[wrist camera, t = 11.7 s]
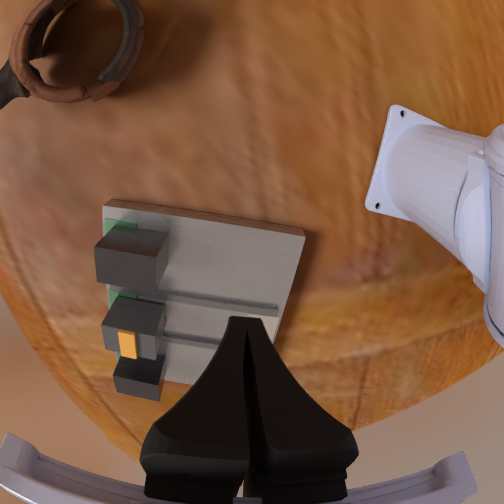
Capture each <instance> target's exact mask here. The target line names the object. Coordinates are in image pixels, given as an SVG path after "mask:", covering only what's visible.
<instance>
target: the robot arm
mask: <svg viewBox="0 0 504 504" xmlns="http://www.w3.org/2000/svg"><path fill="white" fill-rule="evenodd" d="M401 111H403V113H404V116H403V117H401V115H400V112H401ZM377 203H379V207H377V208H375V205H376V204H377ZM365 207H366V208H367V209H368V210H370V211H373V212H377V213H381V214H385V215H389V216H393V217H397V218H400V219H404V220H408V221H412V222H415V223H416V224H417V225H419V226H420V227H421V228H422V229H424V230H425V231H426V232H427V233H428V234H430V235H431V236H432V237H433V238H434V239H436V240H437V241H438V242H439V243H440V244H441V245H443V246H444V247H445V248H446V249H447V250H448V251H450V252H451V253H452V254H453V255H454V256H455V257H456V258H457V259H458V260H460V261H461V262H462V263H463V264H464V265H465V266H466V267H467V268H468V269H469V270H470V271H471V272H472V275H473V282H474V283H475V284H476V285H477V286H478V287H479V288H480V289H481V290H482V291H483V293H484V294H485V299H484V306H483V314H484V319H485V323H486V326H487V328H488V330H489V332H490V334H491V335H492V337H493V338H494V339H495V340H496V341H497V343H499V344H500V345H501V346H502V347H503V348H504V124H502V125H499V126H498V127H496V128H495V129H494V130H493V132H492V133H491V134H490V135H489V136H488V137H487V138H485V137H482V136H478V135H474V134H470V133H466V132H462V131H457V130H453V129H449V128H447V127H445V126H443V125H441V124H439V123H437V122H435V121H433V120H431V119H429V118H427V117H425V116H422V115H420V114H418V113H416V112H414V111H411V110H409V109H407V108H405V107H402V106H400V105H395V104H394V105H392V106H391V107H390V109H389V113H388V117H387V122H386V126H385V130H384V134H383V138H382V142H381V146H380V150H379V154H378V158H377V161H376V165H375V169H374V172H373V176H372V179H371V183H370V186H369V190H368V193H367V196H366V200H365ZM358 455H359V451H358V447H357V443H356V441H355V438H354V436H353V434H352V431H351V429H349V428H348V427H346V426H345V425H343V424H342V423H341V422H339V421H338V420H336V419H335V418H333V417H332V416H331V415H330V414H329V413H327V412H326V411H325V410H324V409H323V408H322V407H321V406H320V405H319V404H317V403H316V402H315V401H314V400H313V399H312V398H311V397H310V396H309V395H308V394H307V393H306V391H305V390H304V389H303V388H302V387H301V386H300V385H299V383H298V382H297V381H296V380H295V378H294V377H293V376H292V374H291V373H290V371H289V370H288V369H287V367H286V366H285V364H284V363H283V361H282V359H281V358H280V356H279V354H278V353H277V351H276V349H275V347H274V346H273V344H272V342H271V340H270V338H269V336H268V333H267V331H266V329H265V326H264V324H263V321H262V319H261V318H255V317H242V316H230V317H229V318H228V324H227V327H226V330H225V333H224V335H223V338H222V340H221V342H220V344H219V346H218V348H217V350H216V352H215V354H214V356H213V357H212V359H211V361H210V362H209V364H208V366H207V367H206V369H205V370H204V372H203V373H202V374H201V376H200V377H199V378H198V380H197V381H196V382H195V383H194V385H193V386H192V387H191V388H190V390H189V391H188V392H187V393H186V394H185V395H184V396H183V397H182V398H181V399H180V400H179V401H178V402H177V403H176V404H175V405H174V406H173V407H172V408H171V409H170V410H169V411H168V412H166V413H165V414H164V415H163V416H162V417H160V418H159V419H158V420H157V421H155V422H154V423H153V425H152V426H151V428H150V430H149V432H148V434H147V436H146V438H145V440H144V442H143V445H142V449H141V454H140V459H139V460H140V463H141V465H142V467H143V469H144V471H145V472H146V474H147V475H146V481H145V486H140V485H136V484H131V483H127V482H123V481H119V480H115V479H112V478H108V477H104V476H101V475H98V474H94V473H91V472H88V471H85V470H82V469H79V468H76V467H74V466H71V465H68V464H66V463H63V462H60V461H58V460H55V459H53V458H50V457H48V456H45V455H43V454H41V453H39V451H38V450H37V449H36V448H35V447H34V446H33V445H32V444H30V443H29V442H27V441H25V440H23V439H21V438H19V437H17V436H15V435H13V434H11V433H9V432H8V433H6V435H5V437H4V440H3V442H2V445H1V447H0V486H1V487H3V488H4V489H5V490H7V491H8V492H10V493H12V494H13V495H15V496H16V497H18V498H20V499H21V500H23V501H25V502H27V503H29V504H459V503H461V502H463V501H464V500H466V499H468V498H469V497H471V496H473V495H474V494H476V493H477V492H478V490H479V489H478V487H477V484H476V481H475V479H474V476H473V473H472V471H471V468H470V466H469V464H468V461H467V459H466V456H465V454H464V452H463V451H461V452H458V453H456V454H453V455H451V456H448V457H446V458H444V459H442V460H441V461H439V462H438V463H437V464H435V465H434V467H432V468H429V469H426V470H423V471H420V472H417V473H414V474H411V475H407V476H404V477H401V478H396V479H393V480H389V481H385V482H381V483H377V484H372V485H368V486H363V487H358V488H353V489H346V484H345V479H346V478H347V473H346V468H347V467H349V465H351V464H352V463H353V462H354V461H355V459H356V458H357V456H358ZM243 480H244V483H243V497H236V496H237V493H238V490H239V487H240V486H241V485H242V482H243Z"/></svg>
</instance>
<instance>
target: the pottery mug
mask: <svg viewBox="0 0 504 504" xmlns="http://www.w3.org/2000/svg"><path fill="white" fill-rule="evenodd" d="M77 1H78V0H36V1H35V2H34V3H33V4H32V5H31V6H30V7H29V8H28V10H27V11H26V12H25V14H24V15H23V17H22V18H21V20H20V21H19V23H18V25H17V27H16V30H15V32H14V35H13V37H12V45H11V49H10V54H9V59H8V60H7V62H6V63H5V65H4V66H3V67H2V68H1V70H0V110H1V109H2V108H3V107H4V106H5V105H6V104H8V103H9V102H10V101H11V100H13V99H14V98H17V97H27V98H28V97H29V96H30V95H32V96H34V97H37V98H40V99H44V100H47V101H52V102H66V103H71V102H78V101H83V100H87V99H89V98H92V99H93V101H98V100H100V99H102V98H104V97H105V96H107V95H108V94H110V93H111V92H113V91H114V90H115V89H117V88H118V87H119V86H120V83H123V82H124V81H125V80H126V79H127V77H128V76H129V74H130V72H131V70H132V69H133V66H134V65H135V63H136V61H137V58H138V56H139V54H140V51H141V48H142V45H143V41H144V36H145V29H143V28H142V25H143V23H144V20H145V18H144V14H143V11H142V8H141V6H140V4H139V2H138V0H112V1H113V2H114V3H115V4H116V5H117V7H118V8H119V10H120V12H121V14H122V17H123V22H124V34H123V38H122V42H121V45H120V48H119V50H118V52H117V54H116V56H115V58H114V59H113V61H112V62H111V63H110V64H109V66H108V67H107V68H106V69H105V70H104V71H103V72H102V73H101V74H100V75H99V77H98V78H99V79H98V80H97V81H95V82H94V83H92V84H90V85H87V86H84V87H83V86H81V85H78V86H73V87H65V88H62V87H54V86H51V85H48V84H46V83H44V81H43V79H42V78H41V76H40V73H39V71H38V69H36V68H34V67H33V66H32V65H31V64H30V63H29V61H30V60H33V59H38V58H41V57H43V48H42V47H43V39H44V35H45V32H46V30H47V27H48V25H49V24H50V22H51V21H52V20H53V18H54V17H55V16H56V15H57V14H58V13H60V12H61V11H62V10H64V9H65V8H66V7H68V6H70V5H72V4H73V3H76V2H77Z"/></svg>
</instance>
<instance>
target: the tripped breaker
mask: <svg viewBox="0 0 504 504" xmlns="http://www.w3.org/2000/svg"><path fill="white" fill-rule="evenodd" d="M101 327H102V332H103V338H104V343H105V348H106V349H108V350H112V351H116V352H120V353H121V356H124V357H128V358H133V359H137V357H142V358H147V359H152V360H156V357H157V354H158V350H159V347H160V343H161V340H162V337H163V333H164V330H165V305H160V304H154V303H149V302H144V301H138V300H133V299H128V298H123V297H118V296H117V297H116V299H115V300H114V302H113V304H112V306H111V308H110V309H109V311H108V313H107V315H106V317H105V319H104V320H103V322H102V324H101Z"/></svg>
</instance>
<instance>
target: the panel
mask: <svg viewBox="0 0 504 504" xmlns="http://www.w3.org/2000/svg"><path fill="white" fill-rule="evenodd" d="M305 238H306V236H305V234H304V232H303V230H302V228H297V227H291V226H286V225H280V224H274V223H269V222H263V221H257V220H251V219H245V218H239V217H232V216H226V215H220V214H213V213H207V212H200V211H194V210H187V209H180V208H173V207H166V206H159V205H152V204H145V203H137V202H130V201H122V200H114V199H111V200H109V201H108V202H107V203H106V204H104V205H103V238H102V239H101V240H100V241H99V242H98V243H97V244H96V245H95V246H94V251H95V265H96V276H97V282H100V283H105V284H106V287H107V297H108V306H109V309H110V308H111V306H112V304H113V302H114V300H115V299H116V297H117V296H118V297H123V298H128V299H133V300H138V301H144V302H149V303H154V304H160V305H165V330H164V333H163V337H162V340H161V343H160V347H159V350H158V354H157V357H156V360H152V359H147V358H142V357H137V359H133V358H128V357H124V356H121V353H120V352H116V351H115V354H116V359H117V366H116V368H115V371H114V374H113V378H114V382H115V386H116V390H117V392H119V393H123V394H128V395H132V396H136V397H141V398H145V399H150V400H155V401H160V397H161V392H162V388H163V383H164V380H168V381H173V382H179V383H185V384H191V385H194V383H195V382H196V381H197V380H198V378H199V377H200V376H201V374H202V373H203V372H204V370H205V369H206V367H207V366H208V364H209V362H210V361H211V359H212V357H213V356H214V354H215V352H216V350H217V348H218V346H219V344H220V342H221V340H222V338H223V335H224V333H225V330H226V327H227V324H228V318H229V317H230V316H242V317H255V318H261V319H262V321H263V324H264V326H265V329H266V331H267V333H268V336H269V338H270V340H271V342H272V344H273V343H274V340H275V336H276V333H277V330H278V327H279V324H280V321H281V318H282V315H283V312H284V309H285V305H286V302H287V299H288V296H289V292H290V289H291V286H292V283H293V279H294V276H295V273H296V269H297V266H298V263H299V259H300V256H301V252H302V249H303V245H304V242H305Z"/></svg>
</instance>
